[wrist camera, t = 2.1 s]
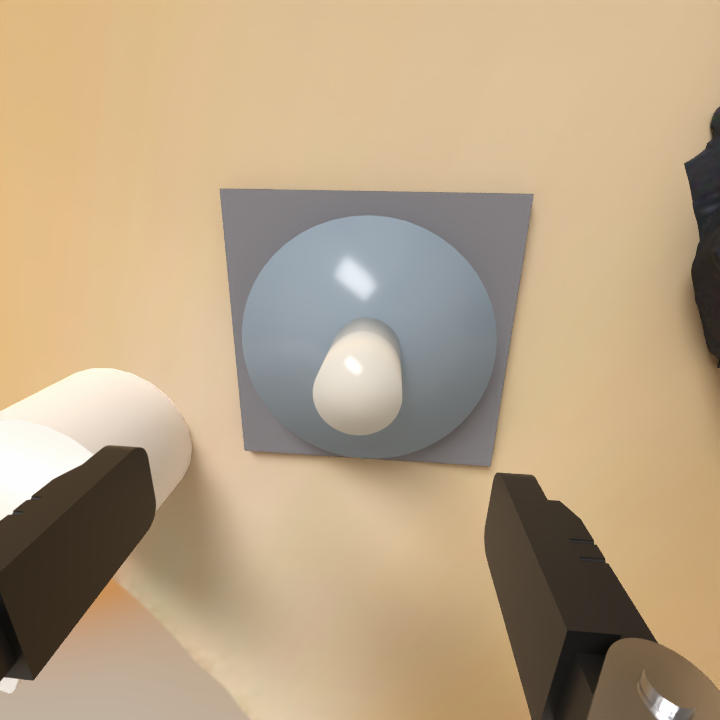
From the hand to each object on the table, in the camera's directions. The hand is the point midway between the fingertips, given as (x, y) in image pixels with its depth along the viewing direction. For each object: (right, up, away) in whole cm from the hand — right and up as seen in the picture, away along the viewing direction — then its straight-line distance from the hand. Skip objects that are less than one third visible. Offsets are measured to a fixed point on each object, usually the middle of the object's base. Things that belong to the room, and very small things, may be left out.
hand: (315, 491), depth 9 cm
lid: (+1, +4, +11) cm, 12 cm away
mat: (+1, +4, +12) cm, 13 cm away
